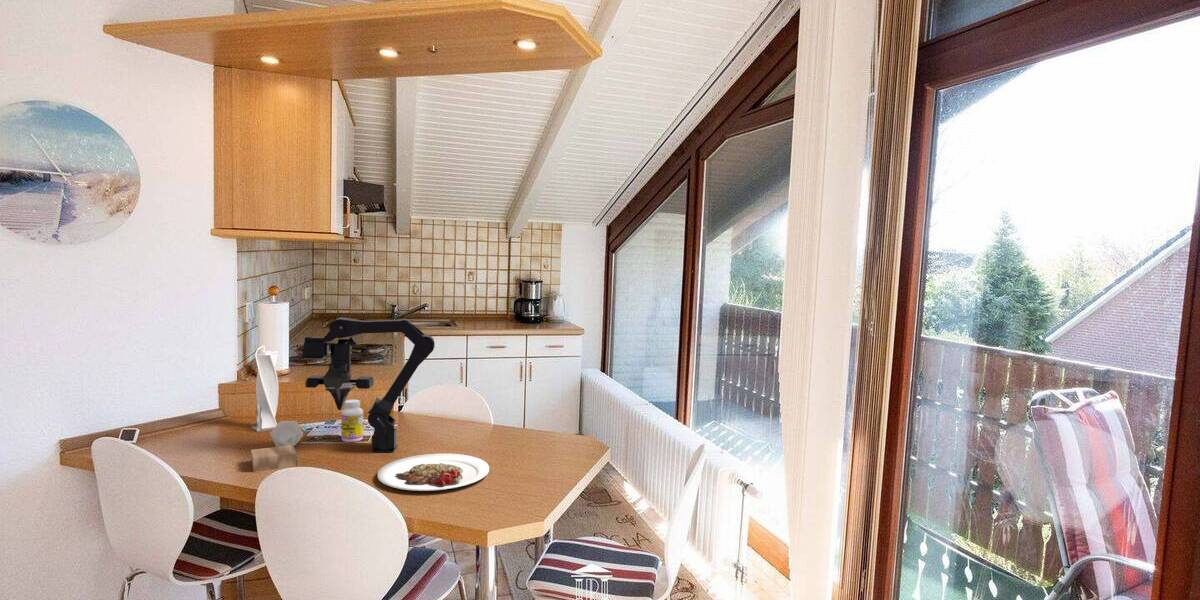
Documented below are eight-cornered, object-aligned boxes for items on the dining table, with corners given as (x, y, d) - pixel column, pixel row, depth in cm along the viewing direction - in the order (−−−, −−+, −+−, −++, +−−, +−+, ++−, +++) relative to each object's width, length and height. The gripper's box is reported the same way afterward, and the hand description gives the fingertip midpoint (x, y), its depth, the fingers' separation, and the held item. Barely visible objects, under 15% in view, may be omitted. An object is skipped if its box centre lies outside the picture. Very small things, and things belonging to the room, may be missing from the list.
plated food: (422, 454, 199) (422, 443, 199) (508, 468, 189) (508, 456, 188) (352, 485, 171) (352, 473, 171) (449, 503, 161) (449, 490, 160)
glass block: (293, 444, 192) (251, 449, 186) (297, 453, 185) (253, 458, 179) (293, 458, 193) (251, 463, 187) (297, 466, 185) (253, 472, 179)
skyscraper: (250, 426, 224) (249, 346, 222) (275, 423, 230) (274, 344, 228) (257, 432, 218) (256, 349, 216) (282, 428, 223) (282, 347, 222)
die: (281, 454, 197) (302, 427, 200) (259, 438, 198) (280, 412, 201) (292, 455, 205) (312, 430, 208) (271, 440, 206) (291, 415, 209)
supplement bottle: (337, 441, 209) (336, 402, 209) (349, 436, 216) (349, 398, 215) (355, 443, 208) (355, 404, 207) (367, 438, 214) (367, 399, 213)
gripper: (298, 362, 188) (298, 415, 189) (364, 364, 190) (363, 416, 191) (312, 356, 199) (311, 406, 200) (374, 358, 201) (373, 408, 202)
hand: (339, 409), depth 198 cm, fingers closed
